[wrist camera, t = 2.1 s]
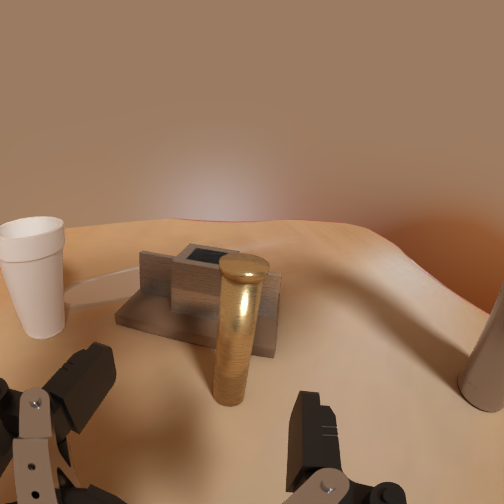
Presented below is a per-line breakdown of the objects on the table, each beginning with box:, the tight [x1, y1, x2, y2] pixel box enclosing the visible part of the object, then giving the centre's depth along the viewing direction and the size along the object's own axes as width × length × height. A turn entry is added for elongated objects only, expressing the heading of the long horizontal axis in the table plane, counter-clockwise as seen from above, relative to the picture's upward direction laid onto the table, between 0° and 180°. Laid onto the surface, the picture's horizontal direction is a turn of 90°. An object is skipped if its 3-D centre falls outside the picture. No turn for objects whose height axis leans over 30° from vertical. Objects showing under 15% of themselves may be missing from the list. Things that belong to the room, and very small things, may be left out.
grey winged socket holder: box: [139, 244, 282, 321], centre depth 37 cm, size 19×7×7 cm, turn 82°
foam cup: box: [0, 216, 65, 339], centre depth 27 cm, size 10×9×13 cm
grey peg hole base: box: [115, 290, 280, 358], centre depth 39 cm, size 20×14×2 cm
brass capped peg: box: [213, 253, 269, 407], centre depth 23 cm, size 4×4×14 cm
